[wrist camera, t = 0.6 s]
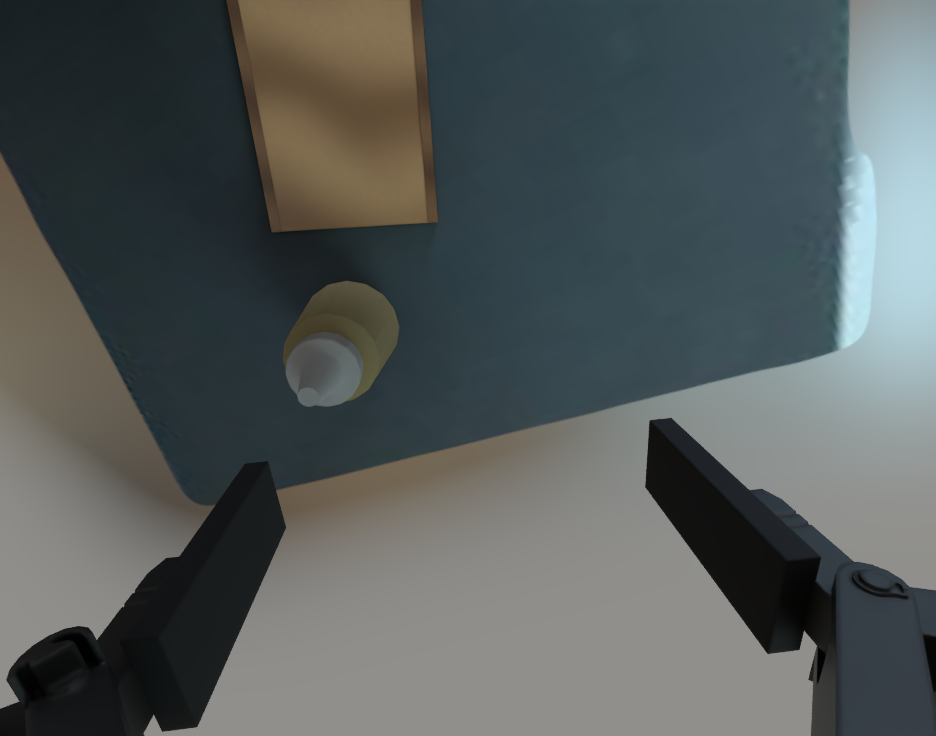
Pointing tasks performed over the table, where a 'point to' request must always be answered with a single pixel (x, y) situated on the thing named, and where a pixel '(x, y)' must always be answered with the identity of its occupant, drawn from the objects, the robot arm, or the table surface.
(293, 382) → the squeeze bottle
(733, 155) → the table surface
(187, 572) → the robot arm
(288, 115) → the brown flat rectangular board
